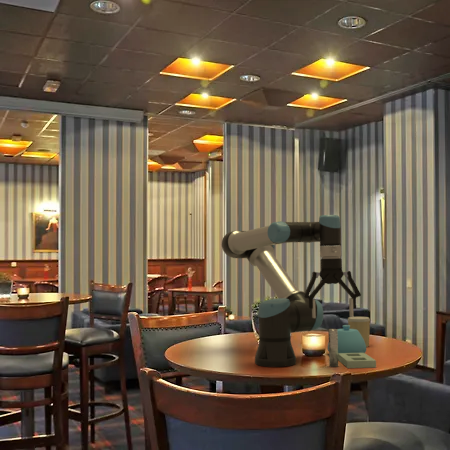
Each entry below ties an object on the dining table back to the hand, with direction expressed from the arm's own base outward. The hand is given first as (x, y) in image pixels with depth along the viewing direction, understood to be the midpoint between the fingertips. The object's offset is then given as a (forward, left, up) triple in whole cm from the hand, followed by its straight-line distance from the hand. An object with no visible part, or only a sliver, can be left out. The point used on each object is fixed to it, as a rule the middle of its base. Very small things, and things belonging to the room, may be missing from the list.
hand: (332, 317), depth 214 cm
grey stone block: (0, 0, -17) cm, 17 cm away
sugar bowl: (+10, +22, -18) cm, 30 cm away
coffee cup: (+20, +41, -18) cm, 49 cm away
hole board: (+9, +4, -17) cm, 20 cm away
